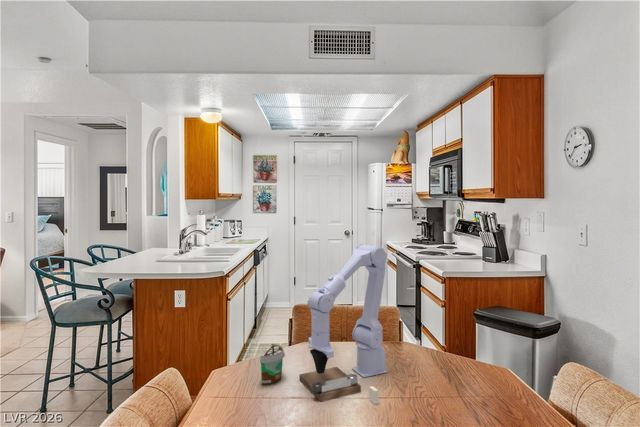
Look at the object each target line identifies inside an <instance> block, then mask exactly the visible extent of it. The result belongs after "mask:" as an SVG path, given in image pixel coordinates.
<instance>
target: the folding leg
mask: <svg viewBox="0 0 640 427" xmlns="http://www.w3.org/2000/svg"><path fill="white" fill-rule="evenodd" d="M357 383H358V375H357V374H355V373H350V374H349V373H348V374H347V377H343V378H339V379H334V380H329V381H325V382H315V383H313V384H312V392H313V393H314V394H320V393H323V392H327V391H331V390H336V389H340V388H344V387H349V386H356V385H357Z"/></svg>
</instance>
